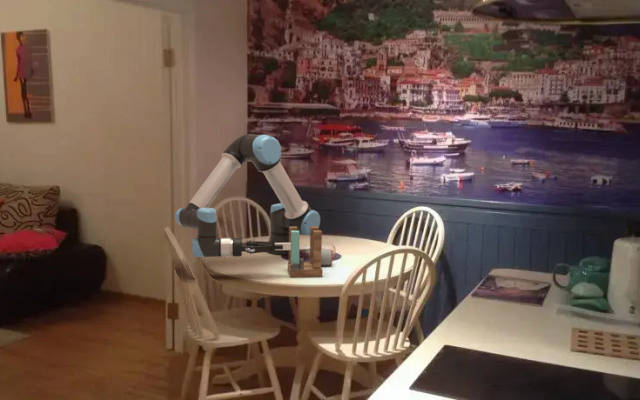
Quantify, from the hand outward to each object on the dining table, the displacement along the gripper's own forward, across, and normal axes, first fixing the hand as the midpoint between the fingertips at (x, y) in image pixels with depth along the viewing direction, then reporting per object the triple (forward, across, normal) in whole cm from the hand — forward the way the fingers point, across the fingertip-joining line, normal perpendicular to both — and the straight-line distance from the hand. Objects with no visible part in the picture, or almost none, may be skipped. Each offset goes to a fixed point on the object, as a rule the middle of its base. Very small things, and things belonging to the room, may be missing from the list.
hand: (290, 246), depth 251 cm
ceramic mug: (+15, -18, -13) cm, 27 cm away
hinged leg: (+2, 0, -9) cm, 9 cm away
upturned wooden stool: (+6, -4, -12) cm, 15 cm away
